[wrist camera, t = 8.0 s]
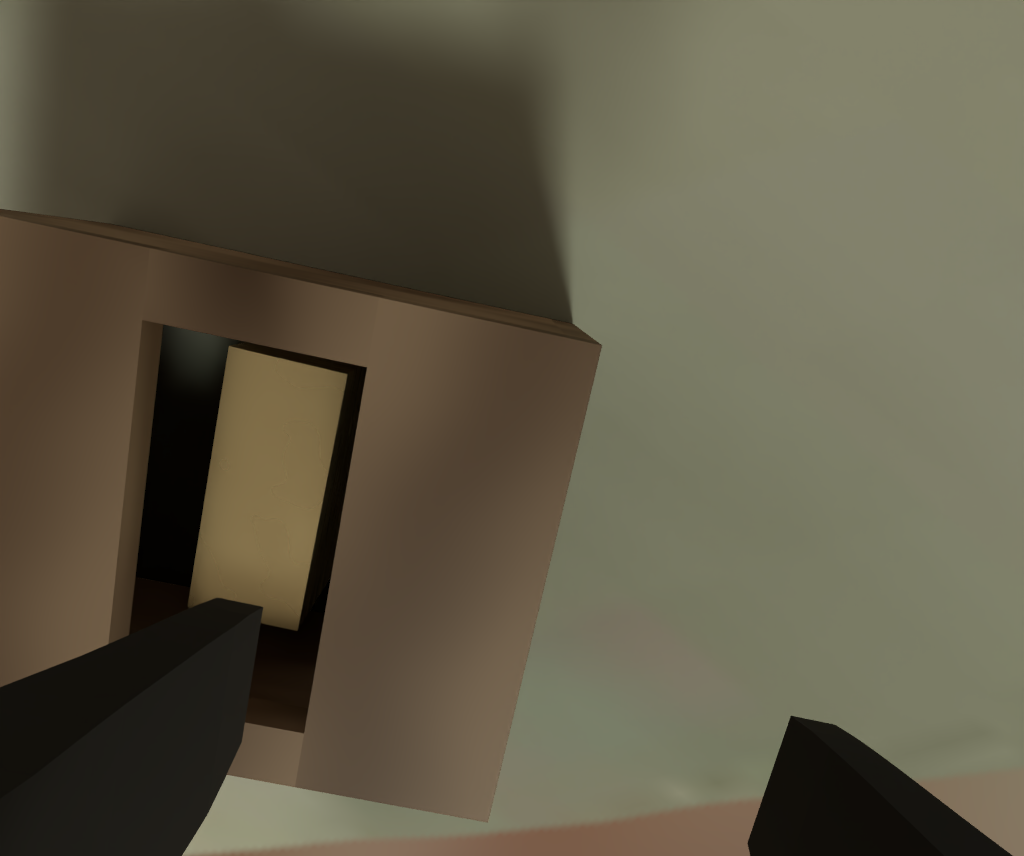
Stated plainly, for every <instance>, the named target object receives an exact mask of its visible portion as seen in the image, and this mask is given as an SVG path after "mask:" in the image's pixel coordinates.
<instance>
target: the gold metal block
mask: <svg viewBox="0 0 1024 856" xmlns="http://www.w3.org/2000/svg"><path fill="white" fill-rule="evenodd" d="M366 371H367V367H363V366H359V365H354V364H349V363H344V362H340V361H335V360H330V359H325V358H321V357H316V356H311V355H306V354H302V353H297V352H292V351H287V350H283V349H278V348H273V347H268V346H264V345H259V344H254V343H249V342H244V343H240V344H236V345H231V346H229V349H228V355H227V361H226V368H225V374H224V380H223V386H222V393H221V399H220V405H219V412H218V418H217V424H216V430H215V437H214V443H213V449H212V456H211V462H210V468H209V474H208V481H207V487H206V493H205V500H204V506H203V512H202V519H201V525H200V531H199V537H198V544H197V550H196V556H195V563H194V569H193V575H192V581H191V588H190V594H189V600H188V607H190V608H191V607H194V606H196V605H199V604H201V603H204V602H206V601H209V600H212V599H215V598H217V597H218V598H223V599H227V600H232V601H237V602H242V603H247V604H252V605H257V606H261V607H263V612H262V618H261V623H263V624H268V625H272V626H277V627H281V628H286V629H290V630H295V631H298V629H299V628H300V626H301V624H302V623H303V621H304V620H305V618H306V616H307V615H308V613H309V611H310V610H311V608H312V606H313V605H314V603H315V602H316V600H317V598H318V597H319V595H320V593H321V592H322V590H323V589H324V587H325V585H326V584H327V582H328V580H329V579H330V577H331V574H332V569H333V563H334V557H335V551H336V545H337V540H338V534H339V528H340V522H341V516H342V511H343V505H344V499H345V493H346V487H347V481H348V476H349V470H350V464H351V458H352V452H353V447H354V441H355V435H356V429H357V423H358V417H359V412H360V406H361V400H362V394H363V388H364V383H365V377H366Z"/></svg>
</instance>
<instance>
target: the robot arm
mask: <svg viewBox="0 0 1024 856" xmlns="http://www.w3.org/2000/svg"><path fill="white" fill-rule="evenodd" d="M262 612H263V607H261V606H257V605H252V604H247V603H242V602H237V601H232V600H227V599H223V598H218V597H217V598H215V599H212V600H209V601H206V602H204V603H201V604H199V605H196V606H194V607H191V608H189V609H187V610H184V611H182V612H180V613H178V614H175V615H173V616H171V617H169V618H166V619H164V620H162V621H160V622H157V623H155V624H153V625H151V626H148V627H146V628H144V629H142V630H139V631H137V632H135V633H132V634H130V635H128V636H126V637H123V638H121V639H119V640H116V641H114V642H112V643H109V644H107V645H105V646H103V647H100V648H98V649H96V650H93V651H91V652H89V653H86V654H84V655H82V656H79V657H76V658H74V659H71V660H69V661H66V662H64V663H61V664H58V665H56V666H53V667H51V668H48V669H46V670H43V671H40V672H38V673H35V674H33V675H30V676H28V677H25V678H22V679H20V680H17V681H15V682H12V683H10V684H7V685H4V686H2V687H0V856H182V855H183V853H184V851H185V850H186V848H187V847H188V845H189V843H190V842H191V840H192V839H193V837H194V835H195V834H196V832H197V830H198V829H199V827H200V826H201V824H202V822H203V821H204V819H205V817H206V816H207V814H208V812H209V810H210V808H211V806H212V804H213V802H214V800H215V798H216V796H217V793H218V791H219V789H220V787H221V785H222V783H223V781H224V779H225V777H226V775H227V773H228V771H229V768H230V766H231V764H232V762H233V760H234V758H235V756H236V753H237V751H238V749H239V747H240V745H241V743H242V737H243V731H244V725H245V719H246V712H247V706H248V700H249V694H250V687H251V681H252V675H253V669H254V662H255V656H256V650H257V643H258V637H259V631H260V625H261V618H262ZM748 847H749V851H750V856H1012V855H1011V854H1010V853H1008V852H1007V851H1006V850H1004V849H1003V848H1002V847H1000V846H999V845H998V844H996V843H995V842H994V841H992V840H991V839H990V838H988V837H987V836H986V835H984V834H983V833H981V832H980V831H979V830H978V829H976V828H975V827H974V826H972V825H971V824H970V823H969V822H967V821H966V820H965V819H963V818H962V817H961V816H959V815H958V814H957V813H955V812H954V811H953V810H952V809H950V808H949V807H948V806H946V805H945V804H944V803H942V802H941V801H940V800H939V799H937V798H936V797H935V796H933V795H932V794H931V793H929V792H928V791H927V790H925V789H924V788H923V787H922V786H920V785H919V784H918V783H916V782H915V781H914V780H912V779H911V778H910V777H909V776H907V775H906V774H905V773H903V772H902V771H901V770H899V769H898V768H897V767H895V766H894V765H893V764H891V763H890V762H889V761H887V760H886V759H885V758H883V757H882V756H881V755H879V754H878V753H876V752H875V751H874V750H872V749H871V748H870V747H868V746H867V745H865V744H864V743H862V742H861V741H860V740H858V739H857V738H855V737H854V736H852V735H851V734H849V733H847V732H846V731H844V730H843V729H841V728H839V727H838V726H836V725H833V724H829V723H824V722H819V721H814V720H809V719H804V718H799V717H795V716H791V717H790V720H789V723H788V726H787V729H786V732H785V735H784V738H783V741H782V744H781V747H780V749H779V752H778V755H777V758H776V761H775V764H774V767H773V770H772V773H771V776H770V779H769V782H768V785H767V788H766V790H765V793H764V796H763V799H762V802H761V805H760V808H759V811H758V814H757V817H756V820H755V823H754V826H753V829H752V831H751V834H750V838H749V840H748Z"/></svg>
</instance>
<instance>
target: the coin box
mask: <svg viewBox="0 0 1024 856" xmlns="http://www.w3.org/2000/svg"><path fill="white" fill-rule="evenodd" d="M163 324H164V325H169V326H173V327H178V328H183V329H188V330H192V331H197V332H202V333H207V334H211V335H216V336H221V337H226V338H230V339H235V340H240V341H245V342H249V343H254V344H259V345H264V346H268V347H273V348H278V349H283V350H287V351H292V352H297V353H302V354H306V355H311V356H316V357H321V358H325V359H330V360H335V361H340V362H344V363H349V364H354V365H359V366H363V367H367V371H366V377H365V383H364V388H363V394H362V400H361V406H360V412H359V417H358V423H357V429H356V435H355V441H354V447H353V452H352V458H351V464H350V470H349V476H348V481H347V487H346V493H345V499H344V505H343V511H342V516H341V522H340V528H339V534H338V540H337V545H336V551H335V557H334V563H333V569H332V574H331V580H330V586H329V592H328V598H327V604H326V609H325V614H324V613H319V612H314V611H309V613H308V615H307V616H306V618H305V620H304V621H303V623H302V624H301V626H300V628H299V629H298V631H295V630H290V629H286V628H281V627H277V626H272V625H268V624H263V623H261V625H260V631H259V637H258V643H257V650H256V656H255V662H254V669H253V675H252V681H251V687H250V694H249V700H248V706H247V712H246V719H245V725H244V731H243V737H242V743H241V745H240V747H239V749H238V751H237V753H236V756H235V758H234V760H233V762H232V764H231V766H230V768H229V771H228V773H227V775H232V776H237V777H243V778H248V779H254V780H259V781H264V782H270V783H275V784H281V785H286V786H292V787H297V788H303V789H308V790H314V791H319V792H324V793H330V794H335V795H341V796H346V797H352V798H357V799H363V800H368V801H374V802H379V803H384V804H390V805H395V806H401V807H406V808H412V809H417V810H423V811H428V812H434V813H439V814H444V815H450V816H455V817H461V818H466V819H472V820H477V821H483V822H488V820H489V816H490V812H491V807H492V803H493V799H494V795H495V791H496V787H497V782H498V778H499V774H500V770H501V766H502V761H503V757H504V753H505V749H506V745H507V741H508V736H509V732H510V728H511V724H512V720H513V715H514V711H515V707H516V703H517V699H518V695H519V690H520V686H521V682H522V678H523V674H524V670H525V665H526V661H527V657H528V653H529V649H530V644H531V640H532V636H533V632H534V628H535V624H536V619H537V615H538V611H539V607H540V603H541V598H542V594H543V590H544V586H545V582H546V578H547V573H548V569H549V565H550V561H551V557H552V552H553V548H554V544H555V540H556V536H557V532H558V527H559V523H560V519H561V515H562V511H563V506H564V502H565V498H566V494H567V490H568V486H569V481H570V477H571V473H572V469H573V465H574V460H575V456H576V452H577V448H578V444H579V440H580V435H581V431H582V427H583V423H584V419H585V414H586V410H587V406H588V402H589V398H590V394H591V389H592V385H593V381H594V377H595V373H596V368H597V364H598V360H599V356H600V352H601V348H602V345H601V344H599V343H598V342H597V341H595V340H594V339H593V338H591V337H590V336H589V335H587V334H586V333H585V332H583V331H582V330H581V329H579V328H578V327H577V326H575V325H574V324H571V323H567V322H562V321H557V320H553V319H548V318H543V317H539V316H534V315H530V314H525V313H520V312H516V311H511V310H506V309H502V308H497V307H492V306H488V305H483V304H479V303H474V302H469V301H465V300H460V299H455V298H451V297H446V296H442V295H437V294H432V293H428V292H423V291H418V290H414V289H409V288H405V287H400V286H395V285H391V284H386V283H381V282H377V281H372V280H368V279H363V278H358V277H354V276H349V275H344V274H340V273H335V272H331V271H326V270H321V269H317V268H312V267H307V266H303V265H298V264H294V263H289V262H284V261H280V260H275V259H270V258H266V257H261V256H257V255H252V254H247V253H243V252H238V251H233V250H229V249H224V248H220V247H215V246H210V245H206V244H201V243H196V242H192V241H187V240H183V239H178V238H173V237H169V236H164V235H159V234H155V233H150V232H146V231H141V230H136V229H132V228H127V227H122V226H118V225H113V224H108V223H100V222H93V221H85V220H78V219H71V218H63V217H56V216H48V215H41V214H34V213H26V212H19V211H11V210H4V209H0V687H2V686H4V685H7V684H10V683H12V682H15V681H17V680H20V679H22V678H25V677H28V676H30V675H33V674H35V673H38V672H40V671H43V670H46V669H48V668H51V667H53V666H56V665H58V664H61V663H64V662H66V661H69V660H71V659H74V658H76V657H79V656H82V655H84V654H86V653H89V652H91V651H93V650H96V649H98V648H100V647H103V646H105V645H107V644H109V643H112V642H114V641H116V640H119V639H121V638H123V637H126V636H128V635H130V634H132V633H135V632H137V631H139V630H142V629H144V628H146V627H148V626H151V625H153V624H155V623H157V622H160V621H162V620H164V619H166V618H169V617H171V616H173V615H175V614H178V613H180V612H182V611H184V610H187V609H189V608H190V607H188V600H189V594H190V588H191V587H185V586H180V585H175V584H170V583H165V582H160V581H155V580H149V579H144V578H139V577H135V576H136V566H137V557H138V548H139V539H140V530H141V521H142V512H143V503H144V494H145V485H146V476H147V467H148V458H149V449H150V440H151V431H152V422H153V413H154V404H155V395H156V386H157V377H158V368H159V359H160V350H161V341H162V332H163Z"/></svg>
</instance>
